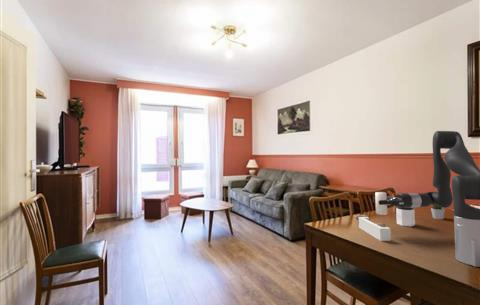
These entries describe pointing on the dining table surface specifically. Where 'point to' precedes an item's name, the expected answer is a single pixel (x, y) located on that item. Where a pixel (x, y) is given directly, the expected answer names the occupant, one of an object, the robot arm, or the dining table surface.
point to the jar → (405, 216)
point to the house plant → (437, 212)
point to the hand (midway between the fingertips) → (376, 201)
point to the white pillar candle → (379, 208)
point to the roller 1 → (360, 216)
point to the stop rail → (375, 229)
